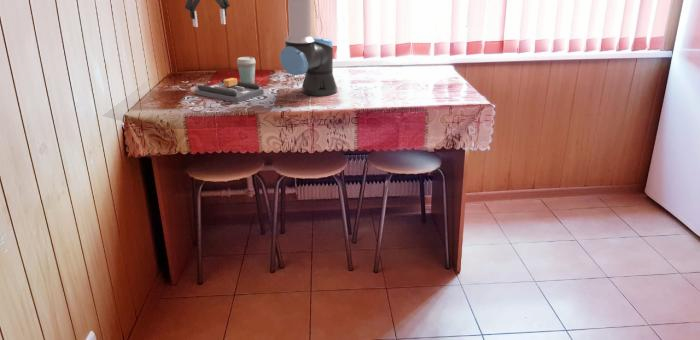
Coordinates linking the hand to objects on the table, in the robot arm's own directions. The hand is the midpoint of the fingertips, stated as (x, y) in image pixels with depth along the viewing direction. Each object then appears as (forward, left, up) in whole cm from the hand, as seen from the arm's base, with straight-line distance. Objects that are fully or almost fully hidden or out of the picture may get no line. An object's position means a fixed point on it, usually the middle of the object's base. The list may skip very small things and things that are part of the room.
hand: (209, 25), depth 225 cm
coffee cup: (-13, -8, -26) cm, 30 cm away
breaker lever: (-19, +9, -24) cm, 32 cm away
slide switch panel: (-18, +9, -26) cm, 33 cm away
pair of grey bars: (-17, +9, -24) cm, 31 cm away
